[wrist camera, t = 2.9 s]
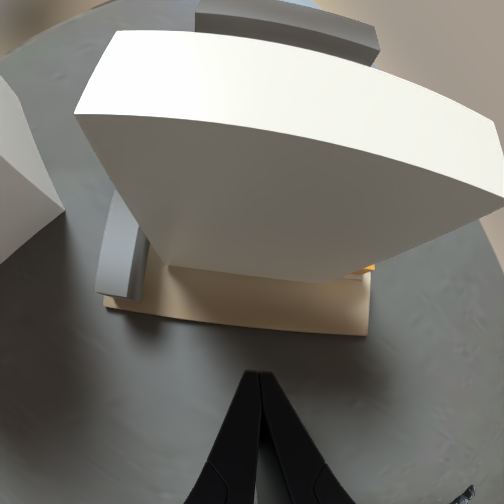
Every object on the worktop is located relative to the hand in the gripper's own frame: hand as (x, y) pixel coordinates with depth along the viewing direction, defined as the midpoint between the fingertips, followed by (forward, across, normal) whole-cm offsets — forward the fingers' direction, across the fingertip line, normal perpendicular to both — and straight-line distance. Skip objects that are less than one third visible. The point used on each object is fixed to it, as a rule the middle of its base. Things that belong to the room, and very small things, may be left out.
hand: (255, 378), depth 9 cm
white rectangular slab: (+8, -1, +1) cm, 8 cm away
